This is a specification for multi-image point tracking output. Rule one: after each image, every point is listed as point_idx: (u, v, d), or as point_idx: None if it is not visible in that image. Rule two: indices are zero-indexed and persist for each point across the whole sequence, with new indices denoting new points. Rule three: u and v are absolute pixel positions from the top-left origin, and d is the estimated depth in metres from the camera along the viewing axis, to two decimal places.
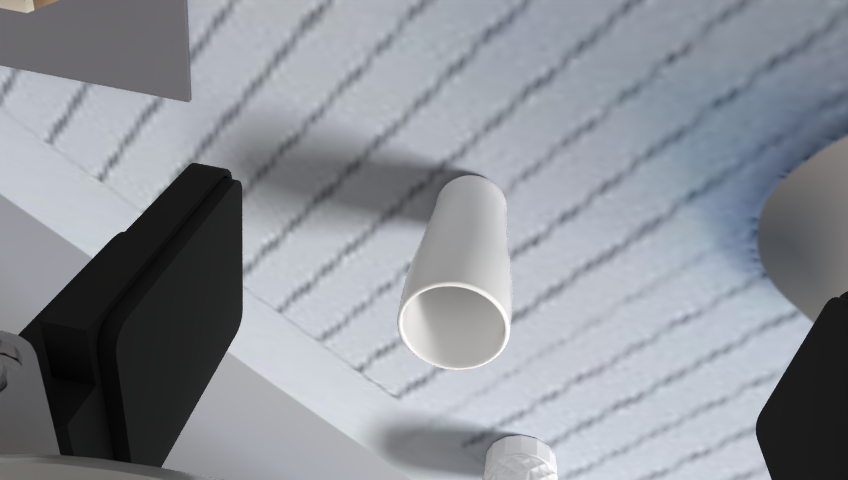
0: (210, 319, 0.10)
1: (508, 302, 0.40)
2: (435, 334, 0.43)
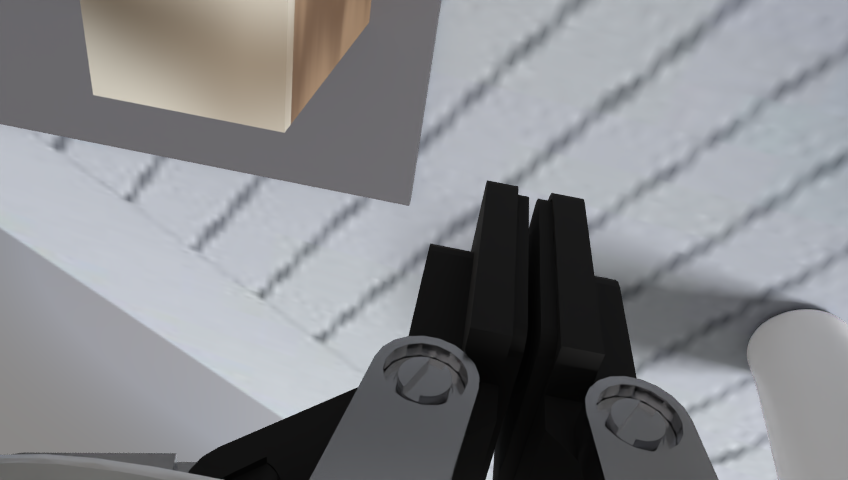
0: None
1: None
2: None
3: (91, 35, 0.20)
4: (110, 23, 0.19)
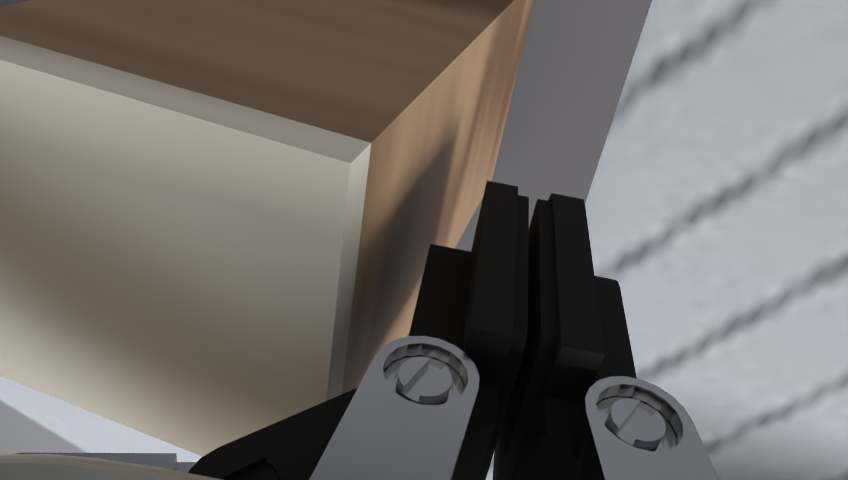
0: None
1: None
2: None
3: None
4: (15, 284, 0.10)
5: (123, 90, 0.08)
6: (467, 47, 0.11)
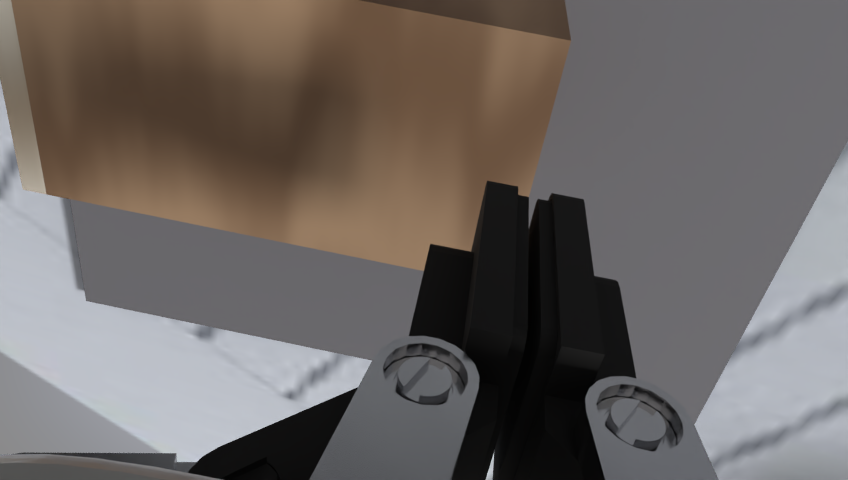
0: None
1: None
2: None
3: None
4: None
5: None
6: None
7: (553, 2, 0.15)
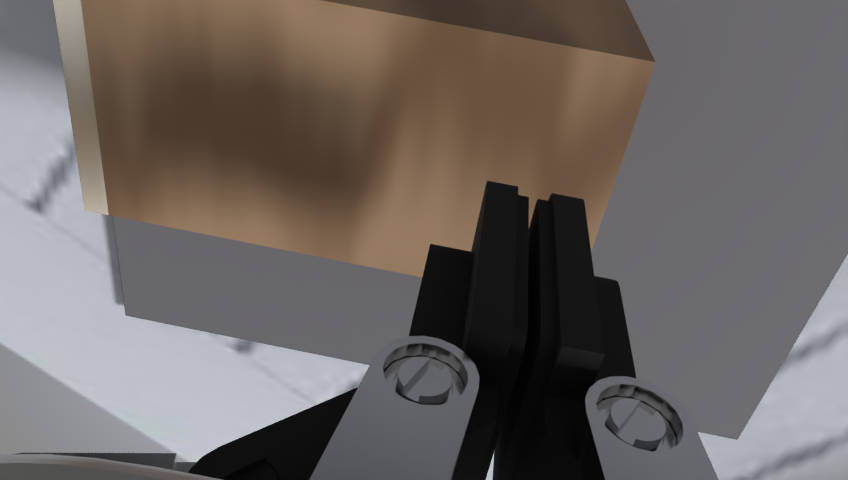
0: None
1: None
2: None
3: None
4: None
5: None
6: None
7: (624, 20, 0.15)
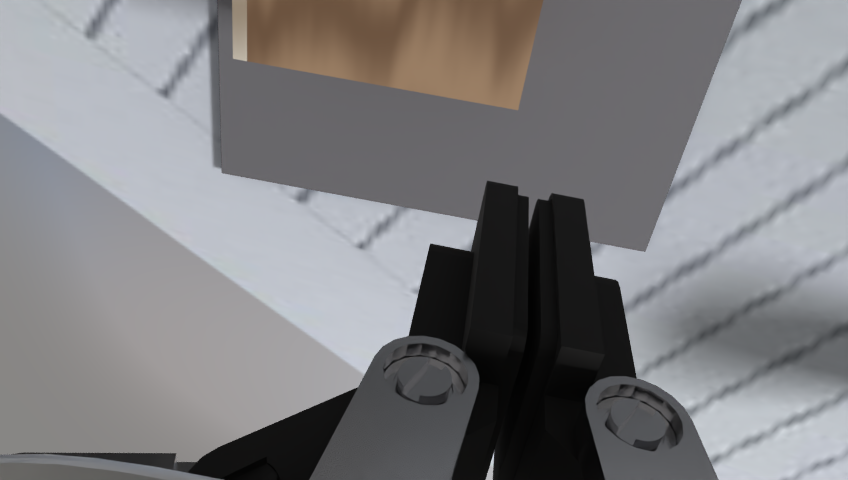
0: None
1: None
2: None
3: None
4: None
5: None
6: None
7: None
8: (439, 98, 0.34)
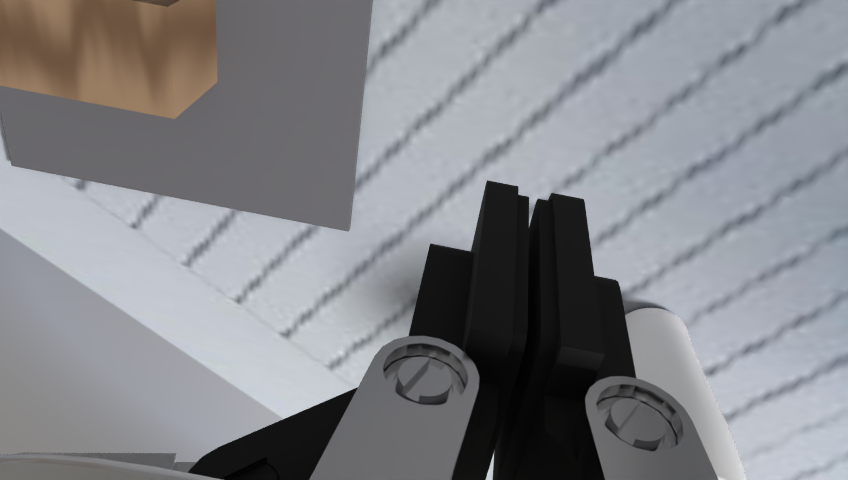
0: None
1: None
2: None
3: None
4: None
5: None
6: None
7: None
8: None
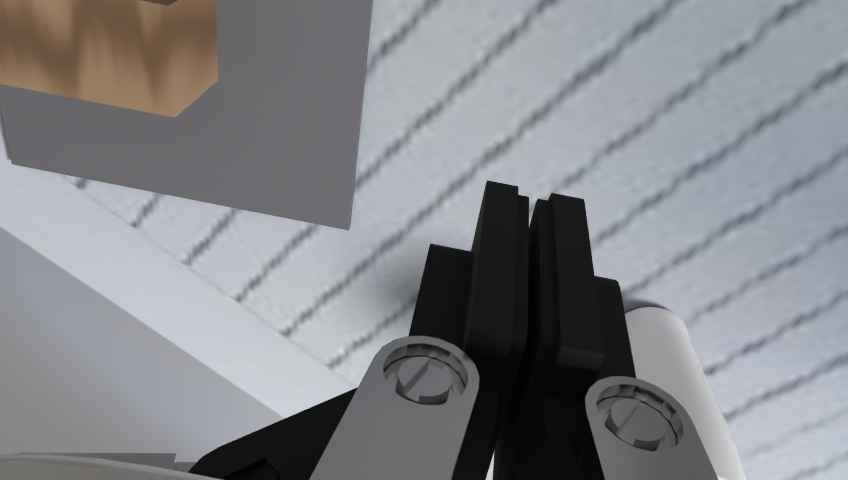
0: None
1: None
2: None
3: None
4: None
5: None
6: None
7: None
8: None
